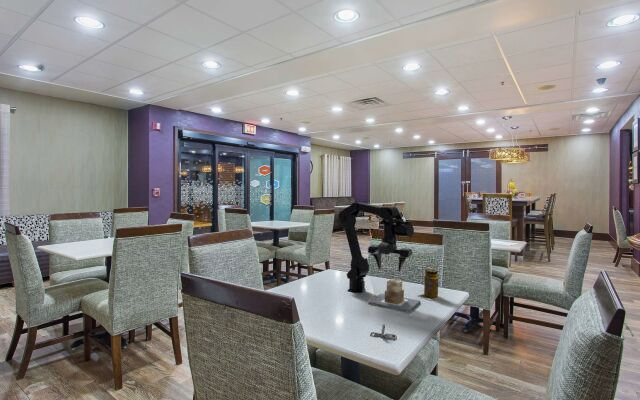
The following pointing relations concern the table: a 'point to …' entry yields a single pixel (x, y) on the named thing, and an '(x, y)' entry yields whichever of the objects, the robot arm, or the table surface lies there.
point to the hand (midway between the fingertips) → (389, 270)
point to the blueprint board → (405, 305)
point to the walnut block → (394, 297)
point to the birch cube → (394, 285)
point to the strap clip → (387, 336)
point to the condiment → (430, 285)
